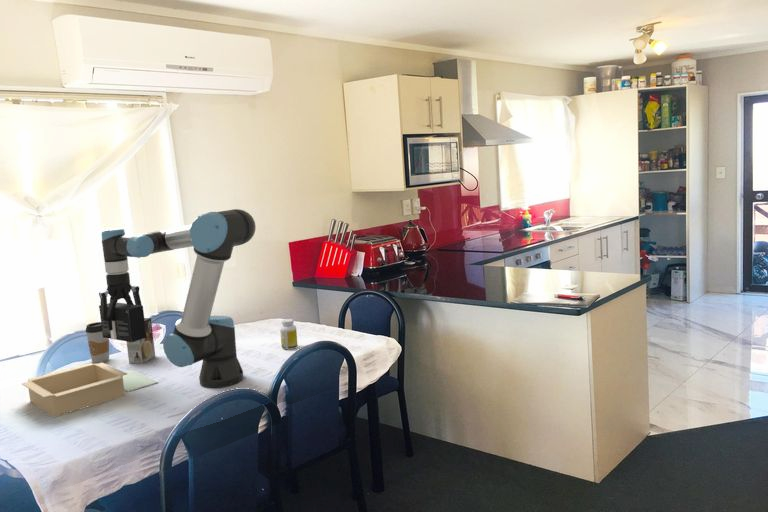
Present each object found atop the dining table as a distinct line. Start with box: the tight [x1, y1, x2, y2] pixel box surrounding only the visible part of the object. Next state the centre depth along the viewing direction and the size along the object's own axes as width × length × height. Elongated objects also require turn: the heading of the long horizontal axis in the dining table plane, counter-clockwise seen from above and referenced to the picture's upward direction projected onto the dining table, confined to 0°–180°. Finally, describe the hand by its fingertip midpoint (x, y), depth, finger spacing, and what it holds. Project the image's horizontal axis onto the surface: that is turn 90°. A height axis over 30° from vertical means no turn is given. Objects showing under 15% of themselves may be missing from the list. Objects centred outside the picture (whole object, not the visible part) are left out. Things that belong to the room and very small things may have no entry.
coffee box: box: [126, 317, 156, 364], centre depth 255 cm, size 9×6×16 cm
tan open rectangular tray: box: [21, 362, 127, 418], centre depth 216 cm, size 26×27×7 cm
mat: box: [123, 370, 159, 393], centre depth 231 cm, size 21×11×1 cm, turn 46°
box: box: [98, 302, 146, 343], centre depth 228 cm, size 17×7×12 cm, turn 57°
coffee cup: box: [85, 321, 110, 364], centre depth 256 cm, size 8×8×15 cm
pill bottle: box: [279, 318, 299, 350], centre depth 262 cm, size 6×6×12 cm
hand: (124, 336), depth 229 cm, fingers closed on box, 7 cm apart
